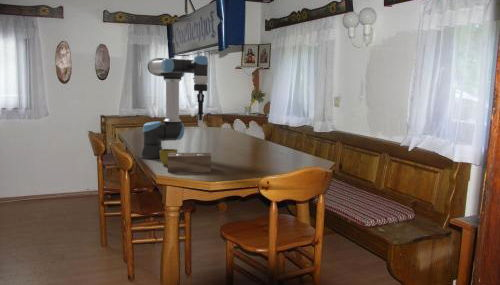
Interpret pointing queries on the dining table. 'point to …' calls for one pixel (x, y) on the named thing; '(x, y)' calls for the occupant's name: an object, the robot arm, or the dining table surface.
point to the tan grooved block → (189, 162)
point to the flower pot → (166, 155)
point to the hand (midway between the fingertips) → (200, 125)
